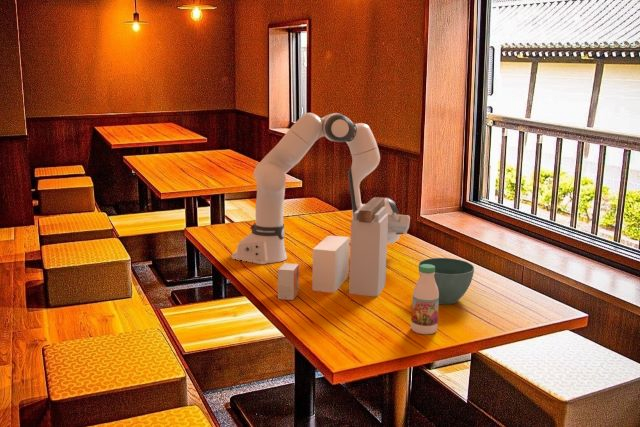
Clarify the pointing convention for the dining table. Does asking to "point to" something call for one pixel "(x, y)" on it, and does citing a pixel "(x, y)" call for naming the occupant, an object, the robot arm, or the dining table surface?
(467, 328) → the dining table surface
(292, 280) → the small box
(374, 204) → the rod
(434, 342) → the dining table surface
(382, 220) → the stand
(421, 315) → the milk bottle
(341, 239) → the block
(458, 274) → the green bowl
